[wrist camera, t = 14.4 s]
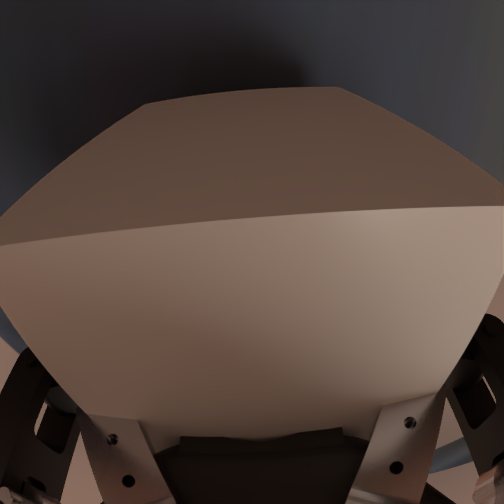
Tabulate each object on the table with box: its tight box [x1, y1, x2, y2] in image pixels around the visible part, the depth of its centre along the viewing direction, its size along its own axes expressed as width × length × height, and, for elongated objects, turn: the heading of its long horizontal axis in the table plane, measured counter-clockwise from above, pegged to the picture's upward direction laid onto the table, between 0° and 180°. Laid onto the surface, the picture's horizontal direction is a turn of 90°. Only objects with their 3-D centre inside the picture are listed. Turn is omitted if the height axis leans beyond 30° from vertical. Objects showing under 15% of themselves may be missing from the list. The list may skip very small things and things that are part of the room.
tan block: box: [0, 87, 504, 453], centre depth 9 cm, size 7×11×9 cm, turn 4°
